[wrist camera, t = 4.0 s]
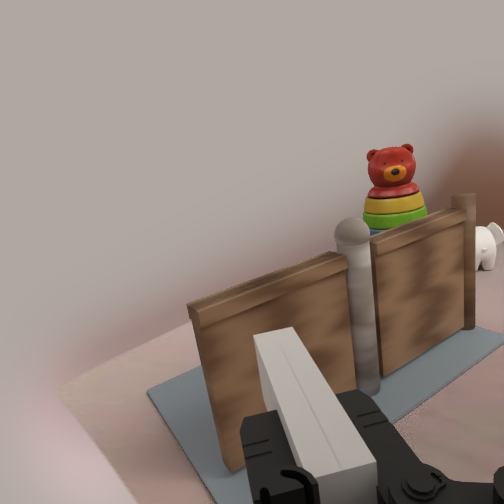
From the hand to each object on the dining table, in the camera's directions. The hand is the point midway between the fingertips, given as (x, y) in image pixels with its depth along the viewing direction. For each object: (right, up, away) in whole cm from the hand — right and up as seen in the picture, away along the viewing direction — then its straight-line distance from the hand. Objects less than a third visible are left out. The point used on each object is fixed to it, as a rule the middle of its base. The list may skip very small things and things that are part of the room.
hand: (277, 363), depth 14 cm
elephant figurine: (+31, +2, +40) cm, 50 cm away
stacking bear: (+22, +3, +47) cm, 52 cm away
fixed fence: (+15, -6, +22) cm, 27 cm away
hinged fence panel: (+2, -9, +15) cm, 17 cm away
